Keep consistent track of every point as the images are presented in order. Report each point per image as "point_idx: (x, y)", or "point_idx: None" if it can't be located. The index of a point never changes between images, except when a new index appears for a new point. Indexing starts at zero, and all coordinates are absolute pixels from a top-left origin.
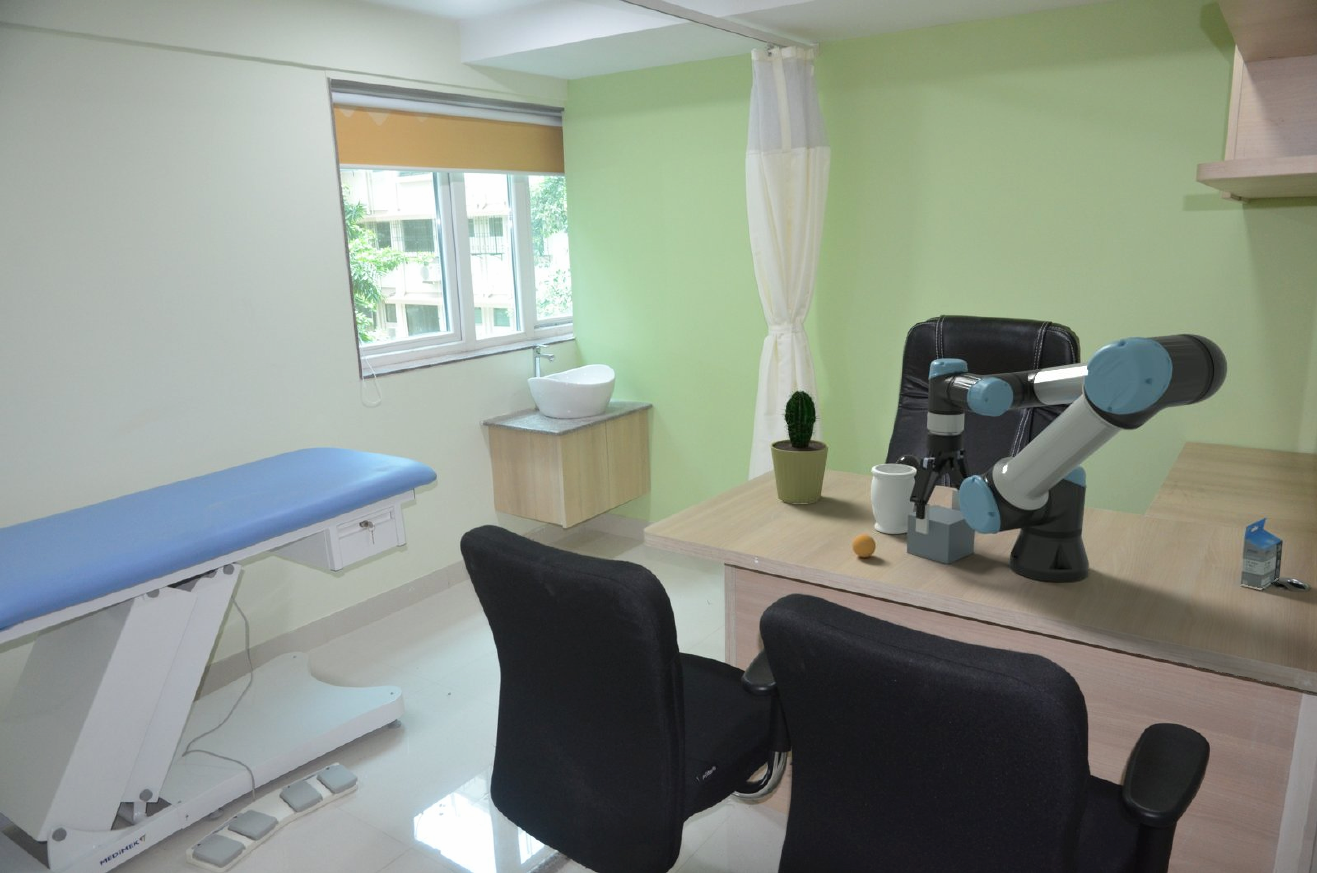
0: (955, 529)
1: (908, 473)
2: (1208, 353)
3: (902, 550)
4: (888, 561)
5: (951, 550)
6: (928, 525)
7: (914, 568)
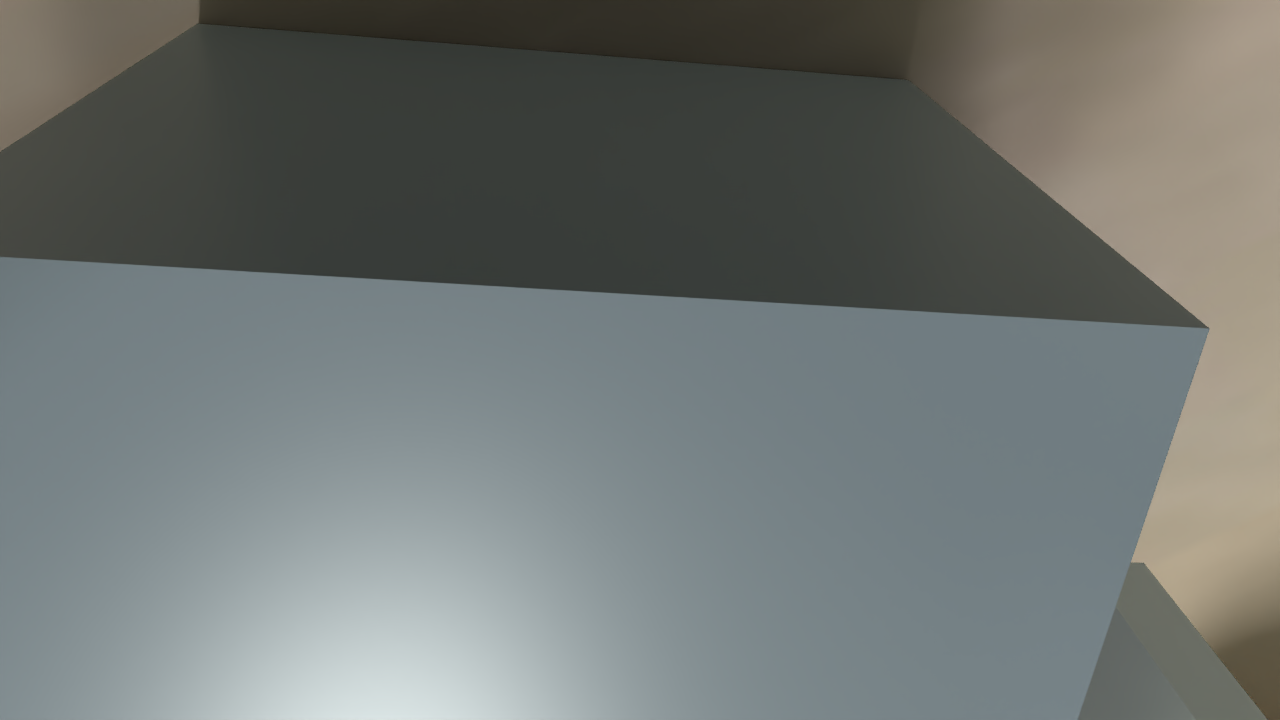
0: (855, 238)
1: None
2: None
3: None
4: (1187, 615)
5: (867, 121)
6: (1174, 665)
7: (1274, 315)
